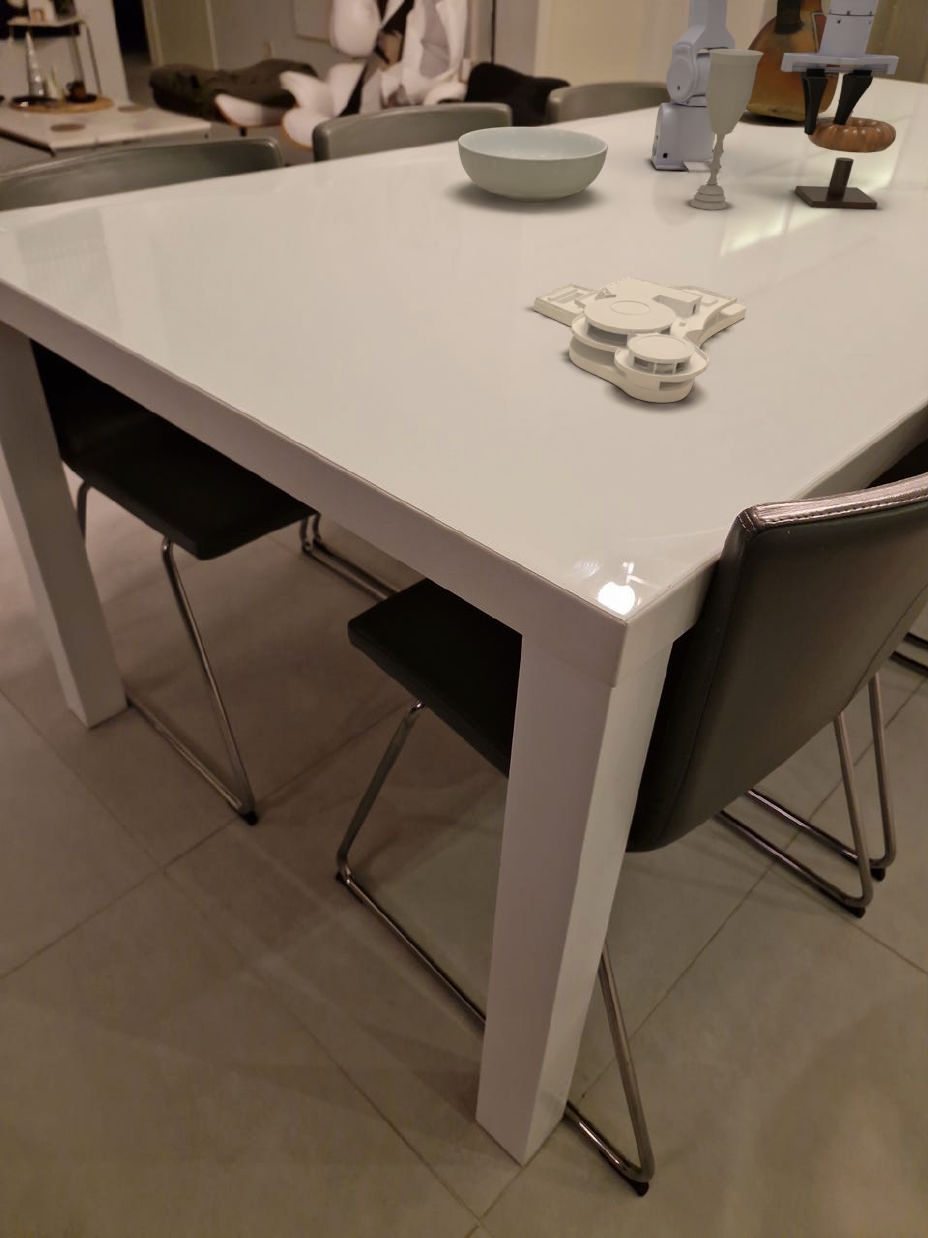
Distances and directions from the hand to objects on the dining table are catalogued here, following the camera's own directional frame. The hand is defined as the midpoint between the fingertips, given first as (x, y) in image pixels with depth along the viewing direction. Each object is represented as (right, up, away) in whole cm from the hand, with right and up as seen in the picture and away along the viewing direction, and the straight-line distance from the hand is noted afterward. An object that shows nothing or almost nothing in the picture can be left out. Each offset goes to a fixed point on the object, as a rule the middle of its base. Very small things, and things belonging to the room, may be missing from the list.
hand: (821, 133), depth 119 cm
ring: (+4, 0, 0) cm, 4 cm away
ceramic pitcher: (+15, +35, +57) cm, 69 cm away
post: (+4, -7, +5) cm, 9 cm away
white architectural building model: (-33, -41, -37) cm, 65 cm away
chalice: (-15, -9, +2) cm, 18 cm away
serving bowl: (-40, -6, +5) cm, 41 cm away
